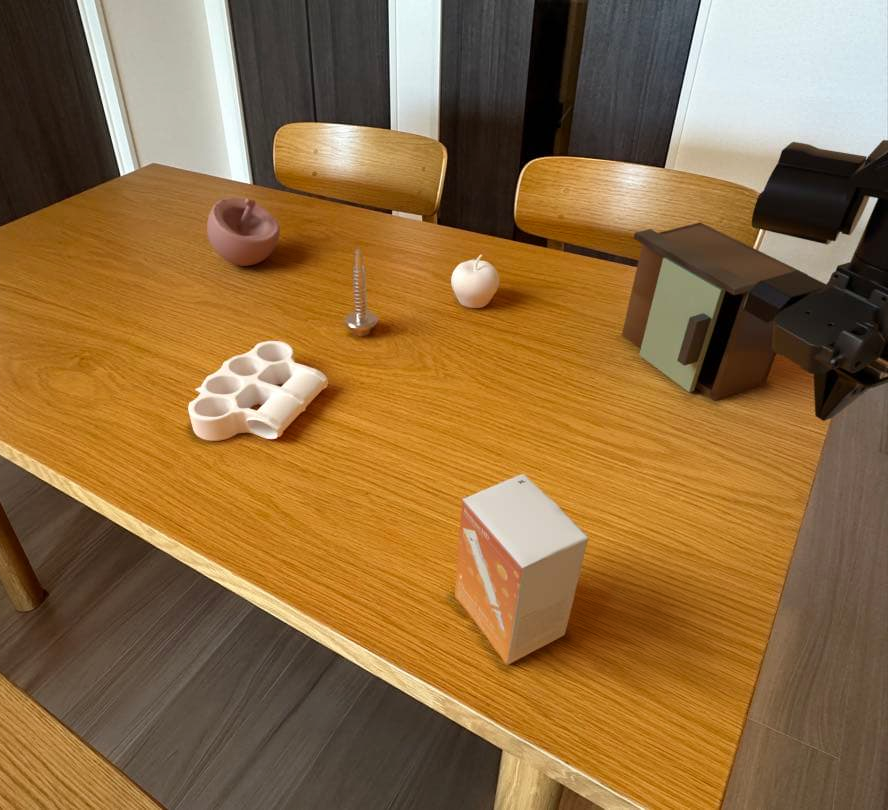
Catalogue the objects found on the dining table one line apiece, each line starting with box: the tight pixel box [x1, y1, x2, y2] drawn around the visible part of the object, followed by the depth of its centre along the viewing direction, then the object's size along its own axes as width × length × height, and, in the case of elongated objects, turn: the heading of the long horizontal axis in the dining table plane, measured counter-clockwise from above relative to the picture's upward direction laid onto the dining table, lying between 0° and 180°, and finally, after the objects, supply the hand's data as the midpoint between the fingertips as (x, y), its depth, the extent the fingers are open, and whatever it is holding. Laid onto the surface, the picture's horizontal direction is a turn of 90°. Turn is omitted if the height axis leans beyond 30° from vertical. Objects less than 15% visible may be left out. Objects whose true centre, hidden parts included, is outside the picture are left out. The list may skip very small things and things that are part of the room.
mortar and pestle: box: [206, 197, 280, 267], centre depth 116 cm, size 12×12×11 cm
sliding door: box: [638, 257, 726, 393], centre depth 83 cm, size 9×3×14 cm, turn 21°
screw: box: [343, 248, 379, 338], centre depth 96 cm, size 13×5×5 cm
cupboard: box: [621, 222, 809, 402], centre depth 85 cm, size 16×10×16 cm, turn 21°
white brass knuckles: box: [187, 340, 329, 442], centre depth 87 cm, size 3×18×15 cm
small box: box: [454, 473, 589, 666], centre depth 58 cm, size 8×6×13 cm
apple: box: [450, 254, 500, 309], centre depth 103 cm, size 7×7×8 cm
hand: (823, 417), depth 62 cm, fingers closed
